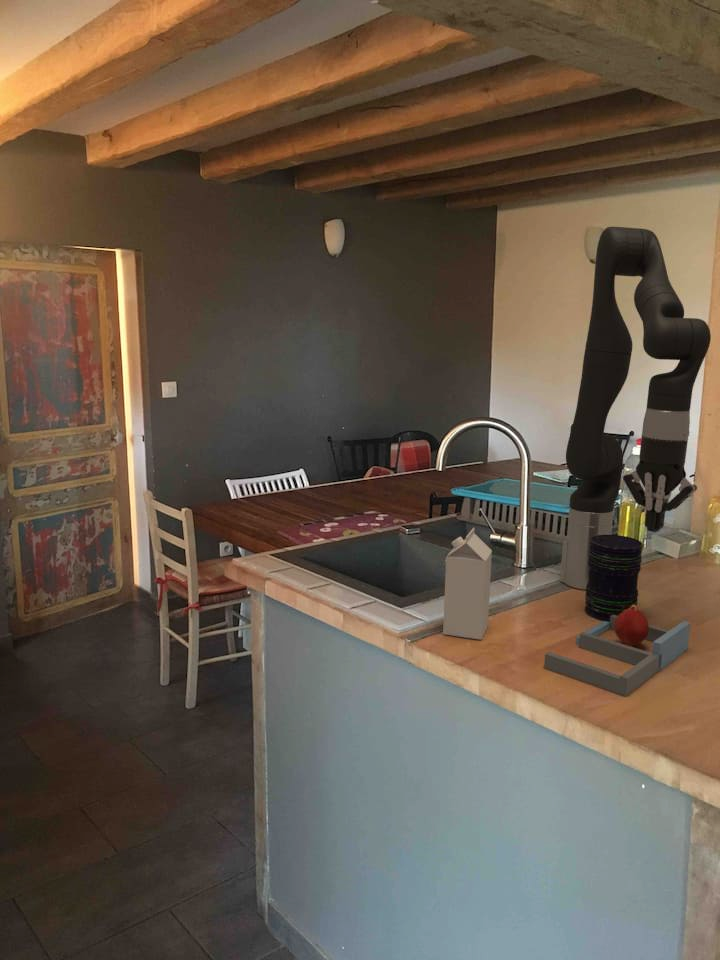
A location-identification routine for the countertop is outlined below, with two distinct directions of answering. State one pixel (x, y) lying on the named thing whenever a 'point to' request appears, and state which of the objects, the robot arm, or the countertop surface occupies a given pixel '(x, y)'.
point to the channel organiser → (622, 657)
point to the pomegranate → (631, 626)
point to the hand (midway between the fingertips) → (653, 530)
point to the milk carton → (467, 588)
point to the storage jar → (612, 575)
